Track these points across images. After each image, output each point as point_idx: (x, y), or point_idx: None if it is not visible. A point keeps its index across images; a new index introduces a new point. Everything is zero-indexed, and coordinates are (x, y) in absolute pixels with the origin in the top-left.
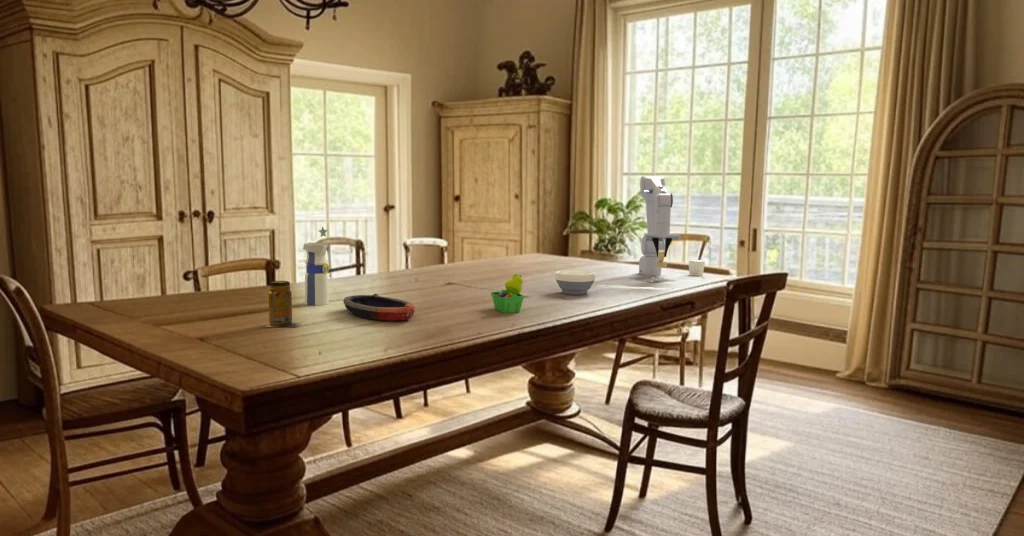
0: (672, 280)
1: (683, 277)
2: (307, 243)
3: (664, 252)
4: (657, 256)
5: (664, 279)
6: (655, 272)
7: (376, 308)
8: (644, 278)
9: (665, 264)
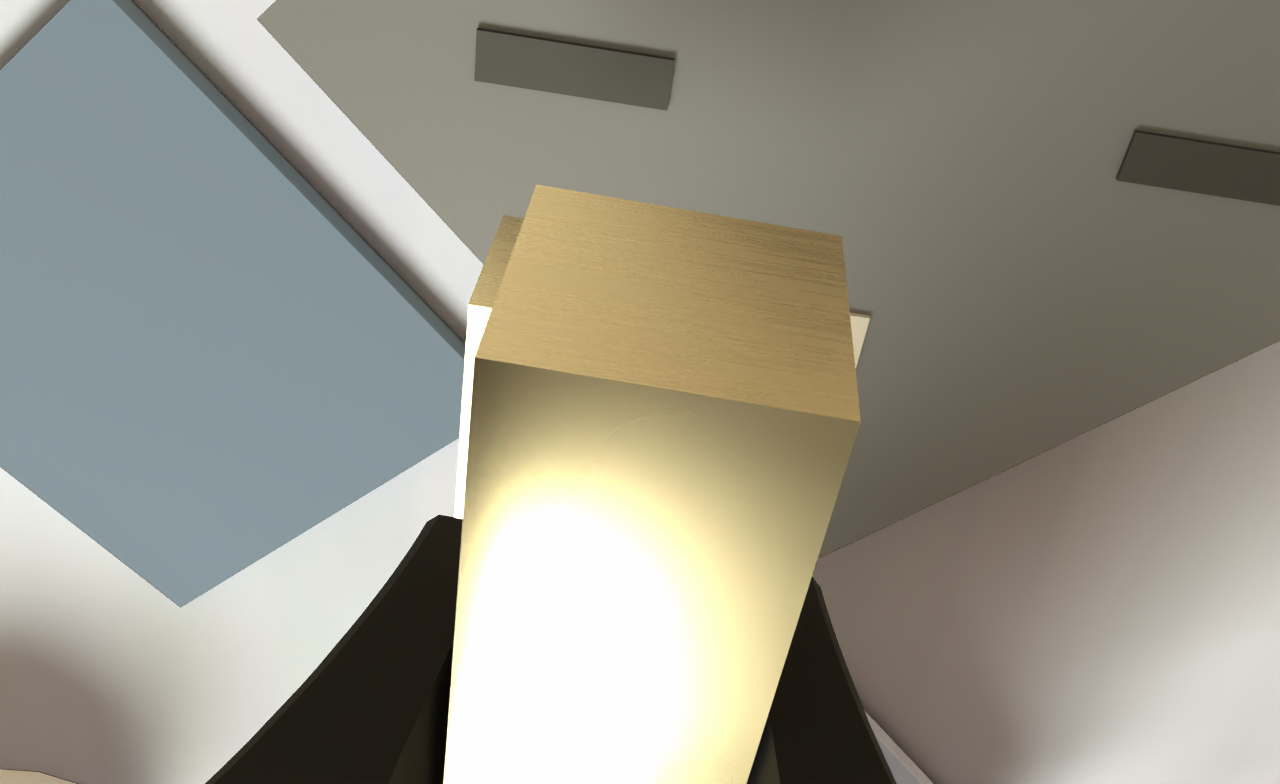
0: (382, 58)
1: (222, 741)
2: None
3: (463, 603)
4: None
5: None
6: None
7: None
8: (1058, 292)
9: (502, 267)
